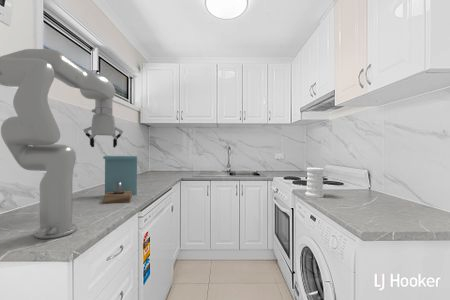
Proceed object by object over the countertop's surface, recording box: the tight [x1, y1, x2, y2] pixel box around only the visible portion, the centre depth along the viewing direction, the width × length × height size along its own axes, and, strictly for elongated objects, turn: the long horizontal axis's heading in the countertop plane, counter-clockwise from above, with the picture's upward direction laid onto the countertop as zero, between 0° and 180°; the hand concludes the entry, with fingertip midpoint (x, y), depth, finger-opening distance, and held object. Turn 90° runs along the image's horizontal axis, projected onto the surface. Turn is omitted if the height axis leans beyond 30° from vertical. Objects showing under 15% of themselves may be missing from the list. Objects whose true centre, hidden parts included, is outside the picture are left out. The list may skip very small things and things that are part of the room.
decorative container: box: [304, 167, 325, 198], centre depth 156 cm, size 12×12×18 cm
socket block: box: [103, 190, 133, 205], centre depth 133 cm, size 13×13×4 cm
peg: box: [115, 182, 122, 194], centre depth 133 cm, size 4×4×10 cm
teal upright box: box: [102, 155, 138, 196], centre depth 142 cm, size 8×18×24 cm, turn 108°
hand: (103, 147), depth 115 cm, fingers open, 9 cm apart
